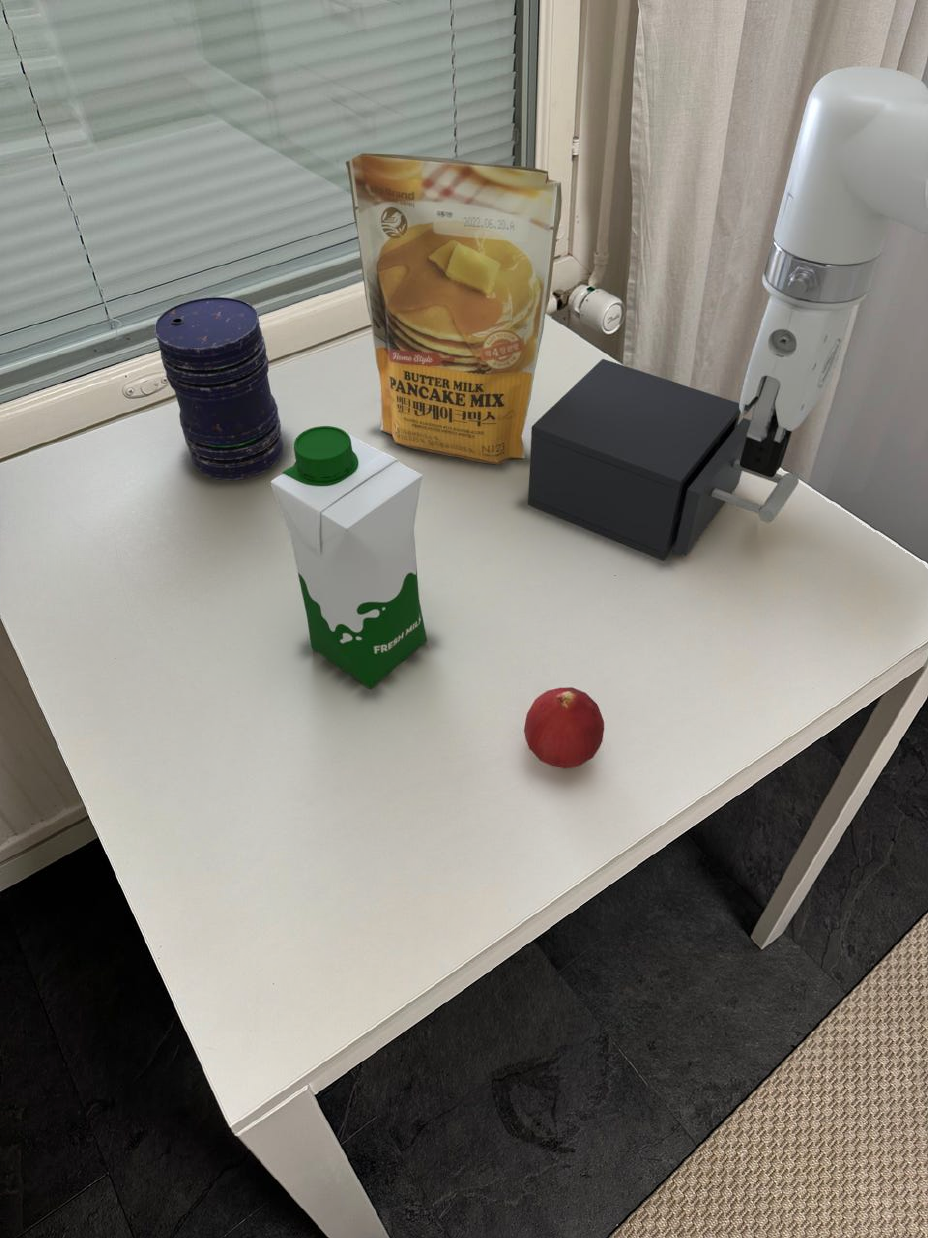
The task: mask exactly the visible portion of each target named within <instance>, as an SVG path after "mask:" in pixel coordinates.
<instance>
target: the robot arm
mask: <svg viewBox="0 0 928 1238" xmlns="http://www.w3.org/2000/svg"><path fill="white" fill-rule="evenodd" d="M782 195H783V196H782V199H781V203H780V206H779V212H778V214H777V220H776V223H775V228H774V231H773V235H772V238H771V242H770V246H769V249H768V253H767V258H766V261H765V266H764V269H763V274H762V278H761V279H762V281H761V282H762V285H763V287H764V288H765V291H767V292H768V293H769V294H770V296H769V299H768V301H767V304H766V308H765V310H764V314H763V317H762V319H761V321H760V326H759V330H758V333H757V336H756V339H755V343H754V346H753V349H752V353H751V355H750V360H749V363H748V366H747V369H746V374H745V377H744V381H743V384H742V389H741V393H740V398H739V403H740V404H739V409H740V412H741V413H740V414H742V415H743V416H746V415H747V414H748V413H749V412H750V411H751V409H752V408H753V411H752V415H751V419H750V420H751V423H750V427H749V429H748V432H747V436H746V437H747V438H746V442H745V445H744V449H743V452H742V456H741V460H740V466H741V467H743V468H745V469H748V470H751V471H754V472H756V473H759V474H762V475H765V476H767V477H774V475H775V474H776V473H777V472H778V471H779V470H780V468H781V467H782V464H783V462H784V458H785V455H786V451H787V449H788V446H789V442H790V440H791V437H792V433H793V431H794V430H796V429H798V428H799V427H800V426H801V425H802V424H803V423H804V421H805V420H806V418H807V417H808V416H809V415H810V413H811V411H812V410H813V409H814V407H815V406H816V405H817V403H818V402H819V401H820V398H822V396H823V394H824V393H825V392H826V390H827V389H828V387H829V385H830V383H831V381H832V378H833V376H834V373H835V370H836V366H837V363H838V361H839V356H840V353H841V351H842V350H841V349H842V346H843V343H844V339H845V336H846V333H847V329H848V326H849V322H850V319H851V316H852V312H853V309H854V307H855V306H858V305H859V304H861V302H864V300H865V298H866V297H867V295H868V291H869V289H870V286H871V283H872V281H873V277H874V275H875V271H876V269H877V266H878V263H879V260H880V257H881V255H882V252H883V249H884V245H885V243H886V241H887V237H888V234H889V232H890V228H891V226H892V223H893V221H896V222H898V223H900V224H902V225H904V226H907V227H909V228H911V229H913V230H915V231H917V232H920V233H922V234H924V235H927V236H928V87H927V86H926V84H925V83H924V82H923V81H922V80H920V79H919V78H918V77H916V76H913V74H912V75H911V74H909V73H907V72H904V71H901V70H897V69H893V68H889V67H882V66H871V65H869V66H868V65H867V66H866V65H862V66H861V65H859V66H858V65H857V66H848V67H843V68H838V69H835V70H832V71H830V72H828V73H827V74H825V75H824V76H822V77H821V78H820V79H819V80H818V81H817V82H816V83H815V85H814V86H813V87H812V89H811V92H810V93H809V95H808V99H807V103H806V106H805V109H804V111H803V116H802V120H801V124H800V128H799V131H798V136H797V140H796V144H795V148H794V151H793V155H792V160H791V162H790V167H789V171H788V175H787V179H786V183H785V187H784V190H783V194H782Z"/></svg>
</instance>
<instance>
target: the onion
mask: <svg viewBox="0 0 928 1238" xmlns="http://www.w3.org/2000/svg"><path fill="white" fill-rule="evenodd" d="M523 733H524V738H525V742H526V745H527V747H528V750H529V751H530V752H532V754H533V755H535V757H536V758H537V759H538V760H539V761H540V762H541V763H543V764H546V765H548V766H550V767H553V768H560V769H572V768H577V767H581V766H582V765H584V764H586V763H587V762H589V761H590V760H592V759H593V758H594V757H595V755H596V754H597V753H598V751H599V749H600V748H601V746H602V743H603V741H604V734H605V720H604V718H603V713H602V712H601V709H600V707H599V705H598V704H597V702H596V701H594V699H593V698H592V697H591V696H589V694H587V692H585V691H583V690H580V689H577V688H575V687H572V686H571V687H570V686H569V687H556V688H553V689H549V690H546V691H545V692H543V693H542V694H541V695H538V696H537V697H536V698H535V699H534V701H533V702H532V704H531V705H530V708H529V709H528V711H527V713H526V716H525V720H524V727H523Z"/></svg>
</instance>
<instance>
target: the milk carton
mask: <svg viewBox="0 0 928 1238" xmlns="http://www.w3.org/2000/svg"><path fill="white" fill-rule="evenodd" d="M293 451H294V457H295V462H294V463H293V464H292V466H290V467H288V468H287V469H285V470H283V471H282V473H281V474H280V475H279V476H276V477H274V478H273V479H272V480H271V481H270V485H271V489H272V491H273V493H274V496H275V498H276V501H277V504H278V507H279V510H280V512H281V515H282V518H283V520H284V523H285V525H286V528H287V531H288V534H289V538H290V542H291V547H292V552H293V556H294V560H295V567H296V571H297V575H298V580H299V581H298V582H299V585H300V590H301V595H302V599H303V604H304V608H305V609H304V610H305V613H306V619H307V627H308V634H309V641H310V646H311V648H312V649H313V650H315V651H316V652H318V653H319V654H320V655H322V657H324V658H326V659H327V660H329V661H330V662H332V664H334V665H336V666H337V667H338V668H340V669H341V670H343V671H344V672H345V673H347V674H348V675H349V676H351V677H352V678H354V679H355V680H357V681H358V683H359V682H360V683H361V684H362V685H364V686H365V687H366V688H368V690H371V689H373V688H374V687H375V686H376V685H377V684H378V683H379V682H381V681H382V680H383V679H384V678H386V677H387V676H388V675H389V674H390V673H391V672H392V671H394V670H395V669H396V668H397V667H398V666H400V665H401V664H402V663H403V662H404V661H406V659H408V658H409V657H410V656H411V655H412V654H414V653H415V652H416V651H417V650H418V649H420V647H422V646H423V645H424V644H425V643H426V642H428V637H427V633H426V628H425V622H424V617H423V612H422V606H421V602H420V593H419V578H418V566H417V552H416V538H415V536H416V535H415V525H416V524H415V523H416V518H417V517H416V516H417V512H418V511H417V510H418V505H419V497H420V492H421V486H422V479H423V474H421V473H419V472H417V470H416V471H415V470H414V469H412V468H411V467H408V466H407V465H404V464H403V463H401V462H399V460H398V459H397V458H396V457H394V456H392V455H390V454H389V453H386V452H383V451H381V450H379V449H378V448H376V447H374V446H372V445H370V444H368V443H366V442H365V441H363V440H361V439H358V438H356V437H355V436H353V435H351V434H349V433H348V432H346V431H345V430H344V429H342V428H340V427H337V426H330V425H319V426H314V427H310V428H308V429H306V430H304V431H302V432H301V433H300V434H298V435H297V437H295V439H294V442H293Z"/></svg>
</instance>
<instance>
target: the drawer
mask: <svg viewBox="0 0 928 1238" xmlns="http://www.w3.org/2000/svg"><path fill="white" fill-rule="evenodd" d="M750 423H751V419H749V418H745V417H743V418H742V419H741V420H740V421H739V422H738V425H737V427H736V428H735V429H734V431H733V432H732V433H731V434H730V436H729V437H728V438H727V439H726V441H725V442H724V443H723V445H722V446H721V447H720V448H719V450H718V447H719V443H720V439H721V438H720V439H719V440H718V442H717V443H716V444H715V445H714V447H713V448H712V449H711V450H710V452H709V453H708V454H707V455H706V457H705V458H704V459H703V460H702V462H701V463H700V464H699V465H698V467H697V468H696V469H695V470H694V472H693V473H692V474H691V476H690V477H689V478H688V479H687V481H686V482H685V483H684V484H683V488H682V493H681V498H680V502H679V507H678V512H677V516H676V521H675V523H676V522H677V521H678V519H679V518H680V517H681V515H682V517H681V521H680V526H679V530H678V535H677V539H676V544H675V547H674V548H673V553H675V554H678V555H680V556H682V557H687V555H688V554H689V553H690V551H691V550H692V549H693V548H694V546H695V545H696V543H697V542H698V541H699V539H700V538H701V537H702V535H703V534H704V532H705V531H706V530H707V528H708V527H709V526H710V524H712V523H711V522H712V521H713V520H714V518H716V516H717V514H718V513H719V511H721V509H722V508H723V506H724V505H725V503H728V504H731V505H733V506H736V507H739V508H742V509H744V510H746V511H750V512H752V513H755V514H758V517H759V519H760V521H762V522H764V523H766V524H767V523H773V522H774V521H775V520H776V519H777V517H778V515H779V513H780V512H781V511H782V509H783V508H784V506H785V505H786V503H787V501H789V498H790V497H791V495H792V494H793V492H794V491H795V489H796V488H797V486H798V484H799V482H800V481H799V477H798V476H797V474H795V473H793V472H787V473H784V474H783V475H782V474H779V473H777V472H776V474H775V475H774V477H767V476H765V475H762V474H759V473H756V472H754V471H751V470H748V469H745V468H743V467H741V466H740V460H741V456H742V452H743V449H744V445H745V442H746V438H747V437H746V436H747V432H748V429H749V427H750ZM743 472H744V473H747V474H750V475H753V476H755V477H758V478H761V479H764V480H767V481H769V482H772V483H775V484H776V485H775V487H774V488H773V490H772V491H771V493H770V495H768V497H767V499H766V500H765V501H764V502H763V505H762V504H759V503H756V502H754V501H751V500H749V499H746V498H743V497H741V496H738V495H736V494H733V492H734V491H735V489H736V488H737V487H738V486H739V484H740V481H741V477H742V473H743Z"/></svg>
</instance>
